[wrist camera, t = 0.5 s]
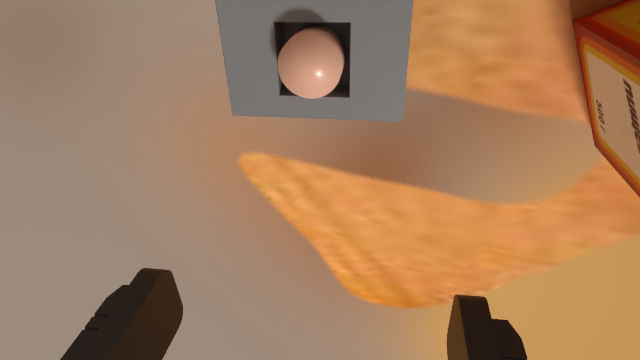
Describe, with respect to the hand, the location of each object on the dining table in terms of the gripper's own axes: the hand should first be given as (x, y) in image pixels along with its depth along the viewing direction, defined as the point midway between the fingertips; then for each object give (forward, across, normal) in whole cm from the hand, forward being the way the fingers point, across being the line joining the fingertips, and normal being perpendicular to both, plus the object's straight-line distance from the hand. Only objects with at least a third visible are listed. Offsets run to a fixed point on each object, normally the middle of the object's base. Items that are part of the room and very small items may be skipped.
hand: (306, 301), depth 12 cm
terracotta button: (+20, +3, -1) cm, 20 cm away
